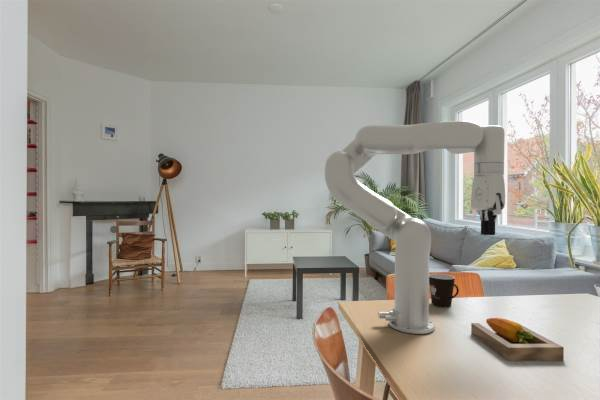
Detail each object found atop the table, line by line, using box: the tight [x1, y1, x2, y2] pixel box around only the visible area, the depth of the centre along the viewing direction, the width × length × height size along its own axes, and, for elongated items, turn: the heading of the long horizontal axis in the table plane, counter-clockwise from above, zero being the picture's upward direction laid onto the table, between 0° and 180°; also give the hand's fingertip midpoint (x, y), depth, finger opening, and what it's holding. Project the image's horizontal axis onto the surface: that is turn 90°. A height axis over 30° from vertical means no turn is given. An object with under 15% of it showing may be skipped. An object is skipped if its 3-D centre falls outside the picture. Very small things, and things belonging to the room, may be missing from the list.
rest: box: [470, 322, 565, 362], centre depth 87 cm, size 13×16×3 cm
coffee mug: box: [429, 273, 460, 308], centre depth 121 cm, size 12×9×10 cm
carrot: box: [485, 317, 533, 344], centre depth 92 cm, size 5×5×15 cm
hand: (487, 234), depth 98 cm, fingers closed
